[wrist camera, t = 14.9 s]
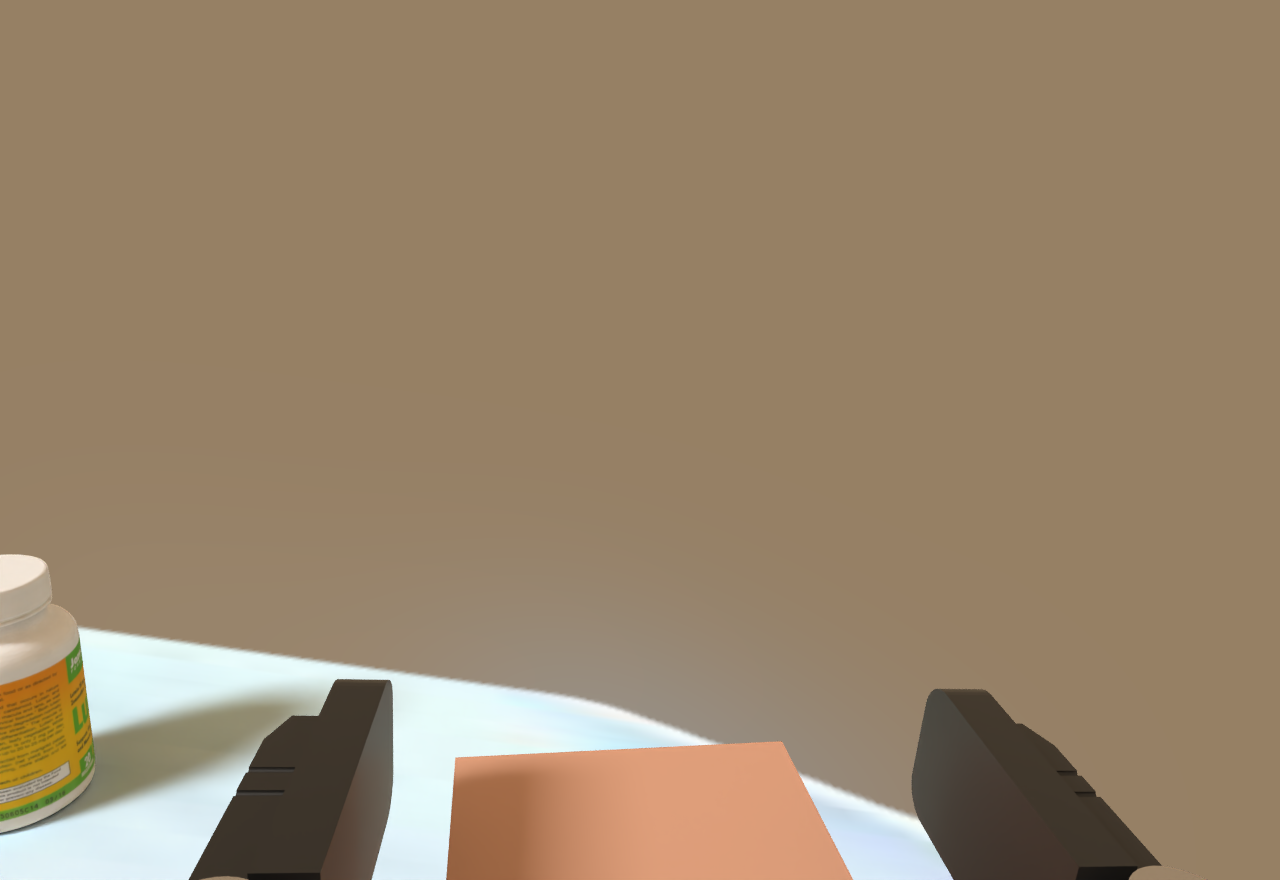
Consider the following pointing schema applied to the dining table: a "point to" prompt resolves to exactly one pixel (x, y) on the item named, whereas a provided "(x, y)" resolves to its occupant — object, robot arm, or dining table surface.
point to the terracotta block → (638, 816)
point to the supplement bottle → (39, 699)
